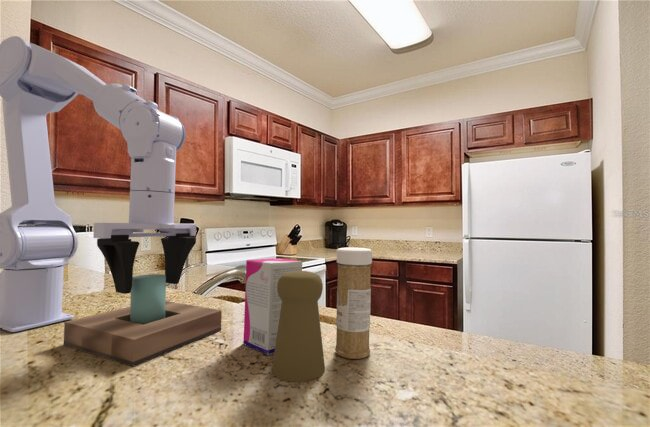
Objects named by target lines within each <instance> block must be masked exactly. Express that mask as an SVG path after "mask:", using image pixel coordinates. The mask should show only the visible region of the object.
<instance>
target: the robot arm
mask: <svg viewBox="0 0 650 427" xmlns="http://www.w3.org/2000/svg"><path fill="white" fill-rule="evenodd" d="M137 94H138V90H137V89H136V88H134V87H133V86H131V85H129V84H127V83H123V84H120V83H113V82H112V83H108V84H107V83H106V82H104V81H103V80H101V79H100V78H99V77H97V76H96V75H95V74H93V73H92V72H91V71H89V70H88V69H87V68H86V67H85V66H82V65H80V64H78V63H76V62H74V61H72V60H70V59H69V58H67V57H64V56H62V55H60V54H57V53H55V52H53V51H51V50H48V49H46V48H44V47H43V46H39V45H37V44H35V43H32V42H28V41H26V40H25V39H24V38H22V37H20V36H17V35H14V36H13V35H12V36H9V37H7V38H5V39H3V40H2V41H0V97H1V100H2V101H1V102H2V104H1V105H2V112H3V113H2V114H3V116H2V117H3V126H4V136H5V147H6V157H7V169H8V170H7V171H8V178H9V192H10V199H11V200H10V201H11V206H10V207H9V208H7V209H5V210H3V211H2V212H0V269H1V270H2V269H3V270H2V271H0V328H2V329H1V330H4V331H8V332H11V333H16V332H21V331H25V330H29V329H33V328H38V327H42V326H46V325H50V324H54V323H59V322H63V321H64V322H65V321H70V320H74V317H75V316H74V315H73V314H68V313H66V312H63V290H64V268H65V267H64V266H65V265H68V264H69V262H70V261H69V260H70V259H71V258H73V257H74V256H75V254H76V252H77V250H78V248H79V238H78V235H77V233H76V231H75V229H74V227H73V222H72V217H71V215H70V214H68V213H66V212H65V211H63V209H61V208H60V207H58V206H57V205H56V201H55V191H54V180H53V171H52V163H51V152H50V143H49V141H50V140H49V133H48V123H47V115H49V114H51V113H58V112H60V111H61V110H62V109H63V108H64V107H66V106H67V105H68V104H69V103H70V102H72V101H73V100H74V99H75V98H76V97H77V96H78V95H82V96H84V97H86V98H87V99H89V100H91V101H92V103H93V107H94V110H95V112H96V114H98V116H100V117H101V118H102V119H104V120H106V121H107V122H108V123H110V124H111V125H112V126H114V127H115V128H117V129H118V130H119V131H121V134H122V137H123V138H124V140H125V141H126V144H127V154H128V156H129V157H130V181H129V182H130V184H129V187H130V188H129V207H128V210H129V211H128V222H94V223H93V239H96V246H97V248H98V249H99V251H100V252H101V253H102V254H101V255H103V257H104V259H105V261H106V263H107V265H108V268H109V271H110V272H111V275H112V276H111V277H112V280H113V284H114V289H115V292H116V293H118V294H124V295H126V294H131V288H132V278H133V277H134V276H133V274H134V265H135V260H136V257H137V256H136V255H137V251H138V250H139V247H140V242H139V241H137V240H136V241H133V240H132V238H149V237H151V238H152V237H162V238H160V241H161V245H162V249H163V254H164V275H166V284H171V285H179V282H180V281H181V280H180V279H181V276H182V273H183V270H184V268H185V267H184V266H185V263H186V261H187V260H188V257H189V254H190V253H191V251H192V249H193V247H194V246H195V245H196V243H197V237H195V236H196V235H197V223H177V222H176V223H175V201H176V200H175V198H176V196H175V195H176V194H175V193H176V168H177V167H176V166H177V152H178V151H179V150H180V149H181V148H182V147H183V145H184V143H185V140H186V135H187V134H186V129H185V126H184V124H183V123H182V121H180V120H179V118H178V117H177V116H174V115H171V114H168V113H165V112H163V111H162V110H159V108H158V107H159V105H158V104H157V103H156V102H154V101H151V100H150V99H147V100H145V99H144V98H142V97H141V96H139V95H137ZM145 230H158V232H144V231H145Z"/></svg>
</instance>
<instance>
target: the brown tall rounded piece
mask: <svg viewBox="0 0 650 427" xmlns="http://www.w3.org/2000/svg"><path fill="white" fill-rule="evenodd" d="M323 284H324V283H323V279H322V278H321V276H320V275H319V274H317V273H316V272H314V271H313V272H312V271H307V270H302V271H292V272H287V273H285V274H283V275H282V276H281V277H280V279H279V280H278V284H277V291H278V295H279V297H280V299H281V300H282V305H281V311H280V318H279V325H278V331H277V338H276V345H275V351H274V353H273V360H272V366H271V373H272V375H273V376H275V378H277V379H280V380H282V381H285V382H286V381H287V382H292V383H295V382H297V383H303V382H309V381H312V380H313V381H314V380H316V379H318V378H319V377H321V376H323V374H325V372H326V365H325V355H324V346H323V338H322V337H323V336H322V331H321V330H322V328H321V321H320V311H319V300H320V299H321V297H322V294H323V289H324V287H323V286H324V285H323Z"/></svg>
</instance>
